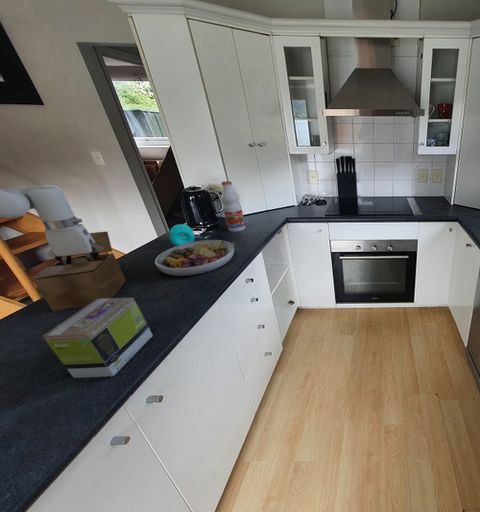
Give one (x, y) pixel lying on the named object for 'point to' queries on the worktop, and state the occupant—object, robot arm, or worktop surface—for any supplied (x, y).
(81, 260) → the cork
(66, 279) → the carton
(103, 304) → the tea box
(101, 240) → the flap
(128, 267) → the worktop surface
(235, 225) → the fruit juice
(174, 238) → the cyan donut
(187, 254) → the bowl
